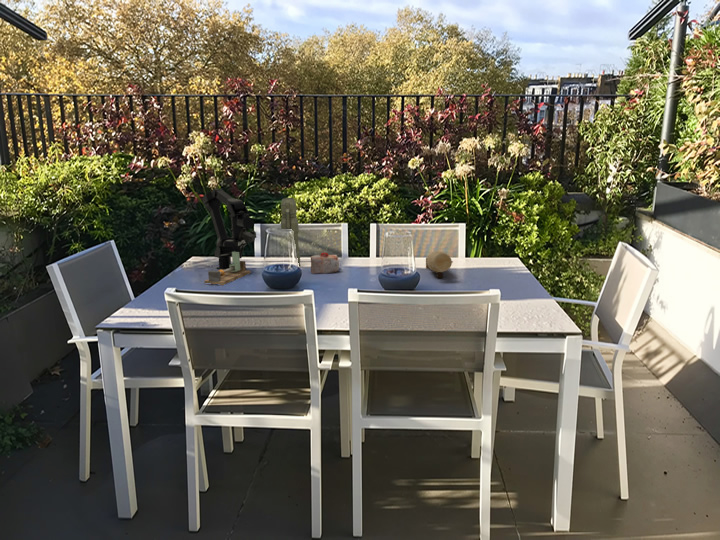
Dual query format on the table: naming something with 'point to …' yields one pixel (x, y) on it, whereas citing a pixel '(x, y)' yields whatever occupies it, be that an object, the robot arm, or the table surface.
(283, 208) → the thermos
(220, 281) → the linear slide rail
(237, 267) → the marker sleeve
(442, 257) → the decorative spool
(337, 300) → the table surface
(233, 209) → the robot arm
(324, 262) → the food item
